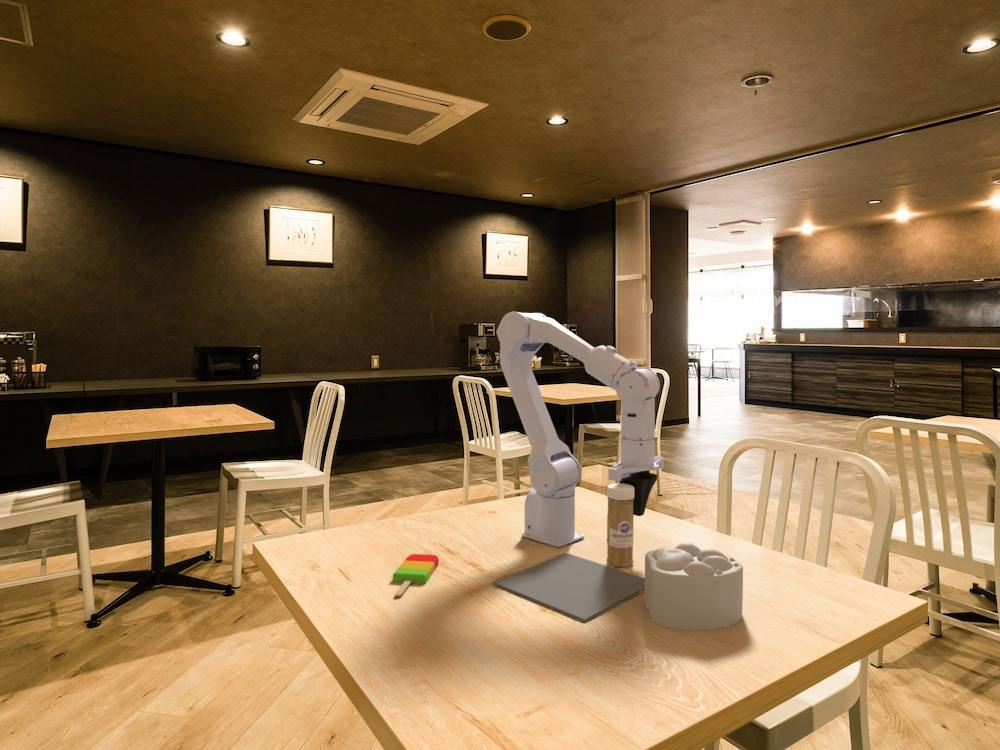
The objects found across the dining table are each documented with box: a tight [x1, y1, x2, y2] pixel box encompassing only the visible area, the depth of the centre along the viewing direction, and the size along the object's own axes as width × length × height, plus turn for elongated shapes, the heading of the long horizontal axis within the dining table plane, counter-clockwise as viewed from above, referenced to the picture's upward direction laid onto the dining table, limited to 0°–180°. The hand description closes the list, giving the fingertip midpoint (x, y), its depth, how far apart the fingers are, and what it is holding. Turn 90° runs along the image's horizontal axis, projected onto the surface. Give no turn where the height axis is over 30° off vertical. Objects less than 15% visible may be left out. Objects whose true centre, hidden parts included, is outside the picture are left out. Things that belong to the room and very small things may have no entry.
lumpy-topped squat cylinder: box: [644, 541, 744, 630], centre depth 87 cm, size 10×13×9 cm
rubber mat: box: [492, 552, 645, 623], centre depth 96 cm, size 18×18×1 cm
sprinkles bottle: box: [606, 482, 634, 568], centre depth 105 cm, size 5×5×13 cm
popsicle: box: [392, 553, 440, 597], centre depth 99 cm, size 6×15×2 cm, turn 171°
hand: (636, 514), depth 108 cm, fingers closed
